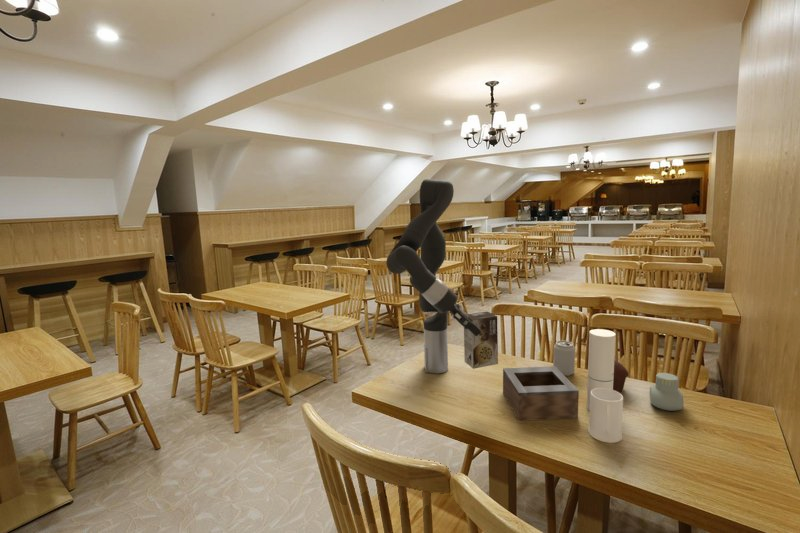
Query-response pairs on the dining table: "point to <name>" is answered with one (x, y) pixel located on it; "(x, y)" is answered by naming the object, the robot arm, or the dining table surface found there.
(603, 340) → the cylindrical container
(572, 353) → the can
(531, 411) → the drop box
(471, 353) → the coffee box
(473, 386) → the dining table surface
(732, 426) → the dining table surface
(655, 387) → the air freshener
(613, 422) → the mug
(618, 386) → the muffin
